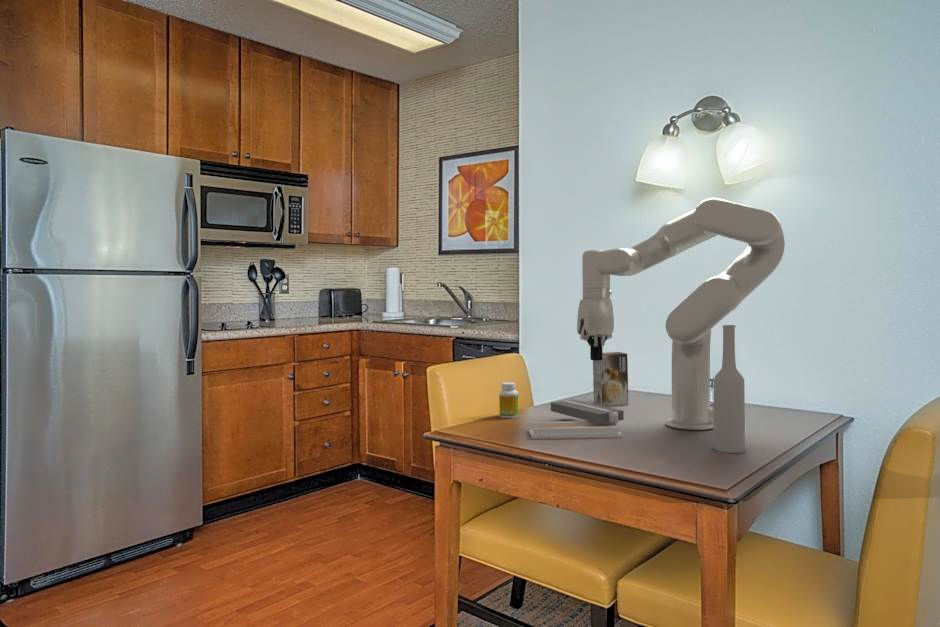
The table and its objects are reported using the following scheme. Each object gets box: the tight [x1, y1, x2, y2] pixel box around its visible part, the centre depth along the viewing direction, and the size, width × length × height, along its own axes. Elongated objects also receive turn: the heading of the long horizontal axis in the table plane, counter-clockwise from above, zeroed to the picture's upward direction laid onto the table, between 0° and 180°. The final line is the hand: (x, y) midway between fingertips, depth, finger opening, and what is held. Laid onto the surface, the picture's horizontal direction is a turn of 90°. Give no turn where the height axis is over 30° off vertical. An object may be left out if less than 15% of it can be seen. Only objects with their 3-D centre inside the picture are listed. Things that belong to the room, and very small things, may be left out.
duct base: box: [527, 420, 623, 440], centre depth 164 cm, size 22×9×2 cm, turn 90°
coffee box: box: [592, 351, 629, 407], centre depth 203 cm, size 9×6×16 cm
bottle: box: [712, 324, 746, 454], centre depth 146 cm, size 7×7×28 cm
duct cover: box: [550, 399, 625, 424], centre depth 173 cm, size 22×8×3 cm, turn 30°
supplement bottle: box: [498, 381, 519, 419], centre depth 187 cm, size 5×5×10 cm
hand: (596, 360), depth 182 cm, fingers closed
